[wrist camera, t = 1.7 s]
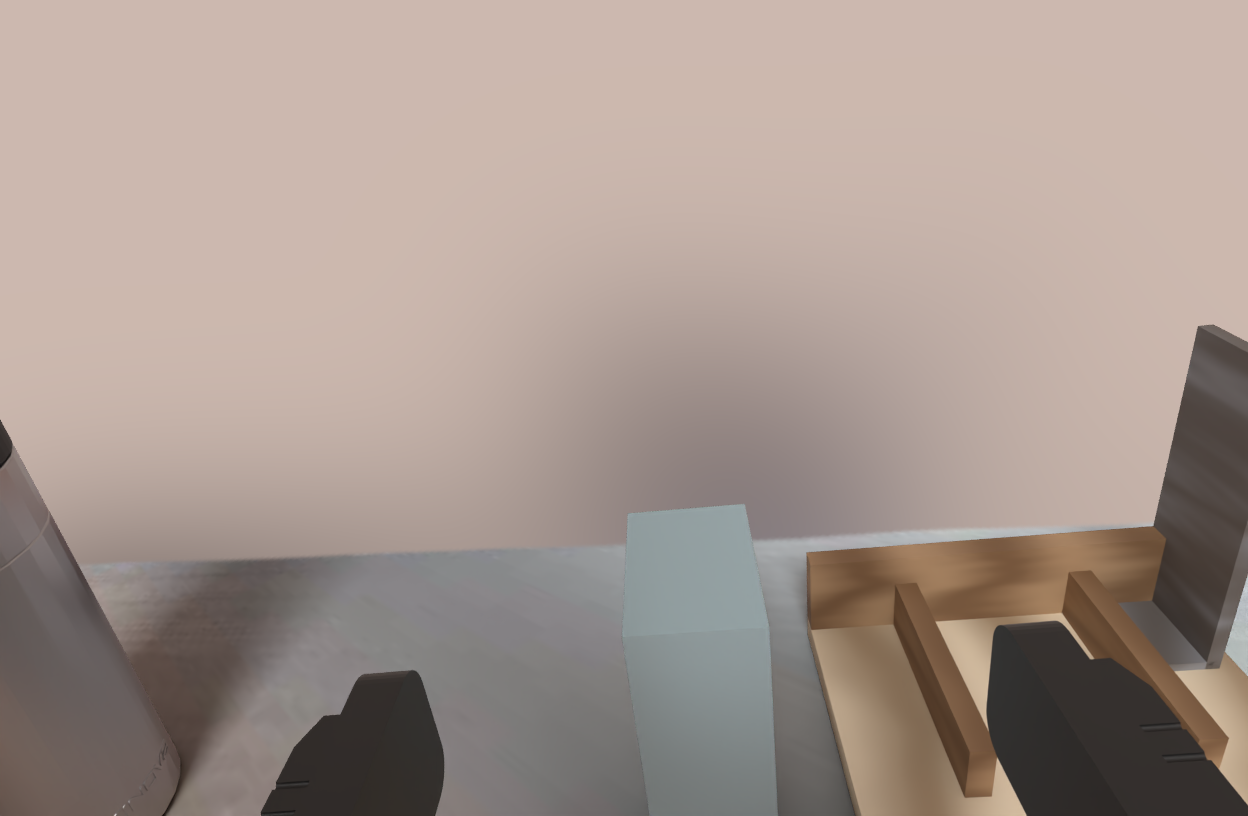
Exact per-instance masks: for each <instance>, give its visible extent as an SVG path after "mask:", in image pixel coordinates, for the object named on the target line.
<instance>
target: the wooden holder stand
mask: <svg viewBox="0 0 1248 816" xmlns="http://www.w3.org/2000/svg"><path fill="white" fill-rule="evenodd" d="M1247 575H1248V342H1246V341H1244V340H1242V339H1240V338H1238V337H1237V336H1234V335H1232V334H1231V333H1229V332H1227V331H1225V330H1223V329H1221V328H1219V327H1217V326H1215V325H1204V326H1198V329H1197V333H1196V338H1195V342H1194V347H1193V351H1192V356H1191V360H1190V365H1189V369H1188V374H1187V378H1186V383H1185V387H1184V392H1183V397H1182V401H1181V405H1180V410H1179V414H1178V418H1177V423H1176V427H1175V432H1174V437H1173V441H1172V445H1171V450H1170V454H1169V459H1168V463H1167V468H1166V472H1165V477H1164V481H1163V486H1162V490H1161V495H1160V499H1159V504H1158V508H1157V513H1156V517H1155V521H1154V526H1151V527H1138V528H1124V529H1111V530H1098V531H1085V532H1072V533H1058V534H1045V535H1032V536H1019V537H1006V538H992V539H979V540H966V541H953V542H940V543H927V544H913V545H900V546H887V547H874V548H861V549H847V550H834V551H821V552H808V553H807V611H808V637H809V640H810V644H811V648H812V652H813V656H814V659H815V663H816V667H817V671H818V675H819V679H820V682H821V686H822V690H823V694H824V698H825V701H826V705H827V709H828V713H829V717H830V721H831V724H832V728H833V732H834V736H835V740H836V743H837V747H838V751H839V755H840V759H841V762H842V766H843V770H844V774H845V778H846V782H847V785H848V789H849V793H850V797H851V801H852V804H853V808H854V812H855V816H1027V815H1026V813H1025V811H1024V809H1023V807H1022V805H1021V803H1020V801H1019V799H1018V797H1017V795H1016V793H1015V791H1014V790H1013V788H1012V786H1011V784H1010V782H1009V780H1008V778H1007V776H1006V774H1005V772H1004V770H1003V768H1002V766H1001V764H1000V762H999V760H998V758H997V755H996V753H995V750H994V748H993V745H992V742H991V738H990V734H989V729H988V724H987V715H986V706H987V695H988V684H989V673H990V662H991V652H992V641H993V634H994V630H995V628H996V627H997V626H998V625H1006V624H1018V623H1031V622H1043V621H1059V622H1061V623H1062V624H1063V625H1064V626H1065V627H1066V628H1067V629H1068V630H1069V631H1070V633H1071V634H1072V636H1073V637H1074V638H1075V640H1076V641H1077V642H1078V644H1079V645H1080V646H1081V648H1082V649H1083V650H1084V652H1085V653H1086V654H1087V656H1088V657H1089V658H1090V659H1101V658H1112V659H1113V660H1115V661H1116V662H1117V663H1119V664H1120V665H1122V666H1123V667H1125V668H1126V669H1127V670H1129V671H1130V672H1132V673H1133V674H1135V675H1136V676H1137V677H1139V678H1140V679H1142V680H1143V681H1145V682H1146V683H1147V684H1149V685H1150V686H1152V687H1153V689H1154V690H1155V691H1156V692H1157V694H1158V695H1159V696H1160V697H1161V699H1162V700H1163V701H1164V702H1165V703H1166V705H1167V706H1168V707H1169V708H1170V710H1171V711H1172V712H1173V713H1174V715H1175V716H1176V717H1177V718H1178V720H1179V721H1180V722H1181V727H1182V729H1187V731H1188V732H1189V733H1190V734H1191V736H1192V737H1193V738H1194V739H1195V741H1196V742H1197V743H1198V744H1199V745H1200V747H1201V748H1202V749H1203V750H1204V752H1205V756H1206V758H1207V760H1212V762H1213V763H1214V764H1215V765H1216V766H1217V768H1218V769H1219V770H1220V771H1221V773H1222V774H1223V775H1224V776H1225V778H1226V779H1227V780H1228V781H1229V782H1230V784H1231V785H1232V786H1233V787H1234V789H1235V790H1236V791H1237V792H1238V794H1239V795H1240V796H1241V797H1242V799H1243V800H1244V801H1245V802H1246V803H1247V805H1248V676H1247V675H1246V674H1245V673H1244V672H1243V671H1242V670H1241V669H1240V668H1239V667H1238V666H1237V665H1236V663H1235V662H1234V661H1233V660H1232V659H1231V658H1230V657H1229V656H1228V655H1227V654H1226V653H1225V648H1226V645H1227V642H1228V638H1229V635H1230V632H1231V628H1232V625H1233V622H1234V618H1235V615H1236V612H1237V608H1238V605H1239V602H1240V598H1241V595H1242V591H1243V588H1244V585H1245V581H1246V578H1247Z"/></svg>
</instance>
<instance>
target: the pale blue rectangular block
mask: <svg viewBox="0 0 1248 816" xmlns="http://www.w3.org/2000/svg"><path fill="white" fill-rule="evenodd" d="M622 642H623V648H624V654H625V661H626V667H627V674H628V680H629V686H630V693H631V699H632V706H633V712H634V718H635V725H636V731H637V738H638V744H639V750H640V757H641V763H642V770H643V776H644V782H645V789H646V795H647V802H648V808H649V814H650V816H778V806H777V784H776V762H775V740H774V718H773V696H772V674H771V652H770V630H769V623H768V618H767V613H766V608H765V603H764V598H763V593H762V588H761V583H760V578H759V573H758V568H757V563H756V558H755V553H754V548H753V543H752V538H751V533H750V528H749V523H748V518H747V513H746V508H745V504H738V505H727V506H715V507H714V506H713V507H701V508H689V509H677V510H665V511H652V512H640V513H628V521H627V541H626V562H625V583H624V603H623V624H622Z"/></svg>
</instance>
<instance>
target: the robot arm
mask: <svg viewBox="0 0 1248 816" xmlns="http://www.w3.org/2000/svg"><path fill="white" fill-rule="evenodd" d="M986 715H987V724H988V729H989V734H990V738H991V742H992V745H993V748H994V750H995V753H996V755H997V758H998V760H999V762H1000V764H1001V766H1002V768H1003V770H1004V772H1005V774H1006V776H1007V778H1008V780H1009V782H1010V784H1011V786H1012V788H1013V790H1014V791H1015V793H1016V795H1017V797H1018V799H1019V801H1020V803H1021V805H1022V807H1023V809H1024V811H1025V813H1026V815H1027V816H1248V805H1247V803H1246V802H1245V801H1244V800H1243V799H1242V797H1241V796H1240V795H1239V794H1238V792H1237V791H1236V790H1235V789H1234V787H1233V786H1232V785H1231V784H1230V782H1229V781H1228V780H1227V779H1226V778H1225V776H1224V775H1223V774H1222V773H1221V771H1220V770H1219V769H1218V768H1217V766H1216V765H1215V764H1214V763H1213V762H1212V760H1207V758H1206V756H1205V752H1204V750H1203V749H1202V748H1201V747H1200V745H1199V744H1198V743H1197V742H1196V741H1195V739H1194V738H1193V737H1192V736H1191V734H1190V733H1189V732H1188V731H1187V729H1182V727H1181V722H1180V721H1179V720H1178V718H1177V717H1176V716H1175V715H1174V713H1173V712H1172V711H1171V710H1170V708H1169V707H1168V706H1167V705H1166V703H1165V702H1164V701H1163V700H1162V699H1161V697H1160V696H1159V695H1158V694H1157V692H1156V691H1155V690H1154V689H1153V687H1152V686H1150V685H1149V684H1147V683H1146V682H1145V681H1143V680H1142V679H1140V678H1139V677H1137V676H1136V675H1135V674H1133V673H1132V672H1130V671H1129V670H1127V669H1126V668H1125V667H1123V666H1122V665H1120V664H1119V663H1117V662H1116V661H1115V660H1113V659H1112V658H1101V659H1090V658H1089V657H1088V656H1087V654H1086V653H1085V652H1084V650H1083V649H1082V648H1081V646H1080V645H1079V644H1078V642H1077V641H1076V640H1075V638H1074V637H1073V636H1072V634H1071V633H1070V631H1069V630H1068V629H1067V628H1066V627H1065V626H1064V625H1063V624H1062V623H1061V622H1059V621H1043V622H1031V623H1018V624H1006V625H998V626H997V627H996V628H995V630H994V634H993V641H992V652H991V662H990V673H989V684H988V695H987V706H986ZM179 777H180V758H179V755H178V752H177V750H176V747H175V746H174V744H173V742H172V740H171V738H170V736H169V734H168V732H167V731H166V729H165V727H164V725H163V723H162V721H161V719H160V718H159V716H158V714H157V712H156V710H155V708H154V706H153V704H152V703H151V701H150V699H149V697H148V695H147V693H146V690H145V689H144V687H143V685H142V683H141V681H140V679H139V677H138V675H137V674H136V672H135V670H134V668H133V666H132V664H131V662H130V661H129V659H128V657H127V655H126V653H125V651H124V649H123V648H122V646H121V644H120V642H119V640H118V638H117V636H116V634H115V633H114V631H113V629H112V627H111V625H110V623H109V621H108V620H107V618H106V616H105V614H104V612H103V610H102V608H101V606H100V605H99V603H98V601H97V599H96V597H95V595H94V593H93V592H92V590H91V588H90V586H89V584H88V582H87V580H86V579H85V577H84V575H83V573H82V571H81V569H80V567H79V565H78V564H77V562H76V560H75V558H74V556H73V554H72V553H71V551H70V549H69V547H68V545H67V543H66V541H65V539H64V537H63V536H62V534H61V532H60V530H59V528H58V526H57V524H56V523H55V521H54V519H53V517H52V515H51V513H50V512H49V510H48V508H47V507H46V505H45V503H44V501H43V499H42V497H41V495H40V494H39V492H38V490H37V488H36V486H35V484H34V482H33V480H32V478H31V477H30V475H29V473H28V471H27V469H26V467H25V465H24V464H23V462H22V460H21V458H20V456H19V454H18V453H17V450H16V449H15V447H14V446H13V444H12V441H11V439H10V437H9V435H8V433H7V431H6V430H5V428H4V426H3V424H2V422H1V420H0V816H162V815H163V814H164V812H165V811H166V809H167V807H168V805H169V803H170V801H171V799H172V797H173V795H174V794H175V791H176V788H177V784H178V781H179ZM443 780H444V754H443V748H442V744H441V741H440V737H439V734H438V731H437V728H436V724H435V721H434V718H433V715H432V712H431V708H430V705H429V702H428V699H427V695H426V692H425V689H424V686H423V683H422V680H421V677H420V675H419V674H418V673H417V672H416V671H414V670H411V671H398V672H386V673H373V674H364V675H362V676H360V677H359V678H358V680H357V681H356V683H355V684H354V687H353V689H352V691H351V693H350V695H349V697H348V699H347V702H346V704H345V706H344V708H343V710H342V712H341V714H340V715H329V716H323V717H322V718H321V719H320V721H319V722H318V723H317V724H316V725H315V726H314V727H313V728H312V729H311V730H310V731H309V732H308V733H307V734H306V735H305V736H304V737H303V738H302V740H301V741H300V742H299V743H298V744H297V745H296V746H295V747H294V749H293V751H292V752H291V754H290V756H289V758H288V760H287V762H286V764H285V766H284V768H283V770H282V772H281V774H280V776H279V778H278V780H277V782H276V789H275V790H272V792H271V793H270V795H269V797H268V799H267V801H266V803H265V805H264V807H263V809H262V811H261V816H435V814H436V811H437V807H438V804H439V800H440V796H441V792H442V787H443Z"/></svg>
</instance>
